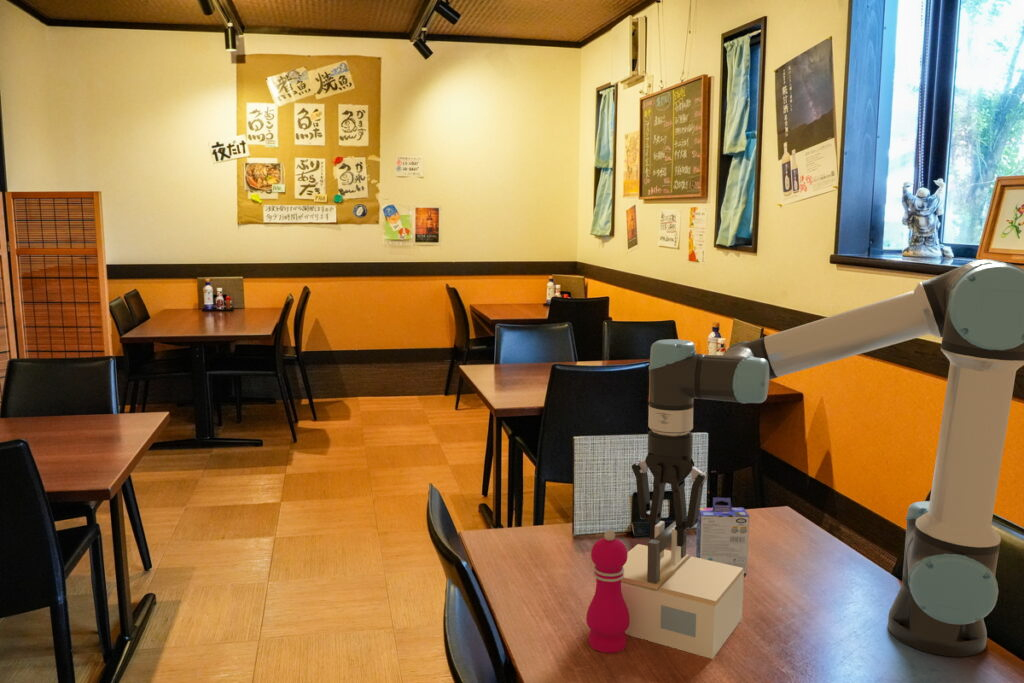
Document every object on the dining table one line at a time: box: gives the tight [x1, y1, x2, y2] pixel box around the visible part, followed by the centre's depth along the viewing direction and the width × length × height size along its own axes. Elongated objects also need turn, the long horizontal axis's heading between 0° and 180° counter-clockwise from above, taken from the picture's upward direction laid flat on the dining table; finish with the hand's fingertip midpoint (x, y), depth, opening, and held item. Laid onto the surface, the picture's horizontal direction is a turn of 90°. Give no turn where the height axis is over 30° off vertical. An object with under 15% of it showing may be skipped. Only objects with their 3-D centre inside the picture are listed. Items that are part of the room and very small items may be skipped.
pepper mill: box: [585, 529, 630, 654], centre depth 141 cm, size 7×7×20 cm
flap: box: [621, 519, 690, 590], centre depth 150 cm, size 10×15×8 cm, turn 148°
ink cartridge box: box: [695, 497, 750, 575], centre depth 171 cm, size 10×6×14 cm, turn 89°
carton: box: [621, 556, 745, 660], centre depth 149 cm, size 20×16×10 cm
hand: (667, 560), depth 148 cm, fingers closed on flap, 2 cm apart
